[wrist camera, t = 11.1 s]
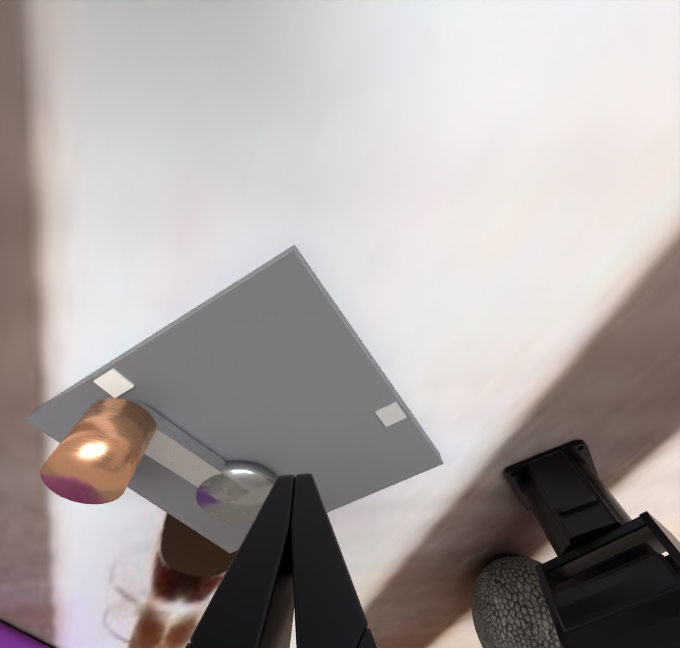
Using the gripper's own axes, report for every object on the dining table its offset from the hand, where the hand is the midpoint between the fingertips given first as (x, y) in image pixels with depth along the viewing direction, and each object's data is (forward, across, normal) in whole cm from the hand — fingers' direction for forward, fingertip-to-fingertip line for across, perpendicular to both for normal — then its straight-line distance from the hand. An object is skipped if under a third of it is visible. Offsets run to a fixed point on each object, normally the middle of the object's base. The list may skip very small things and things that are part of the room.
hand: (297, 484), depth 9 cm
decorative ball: (+13, -18, +33) cm, 40 cm away
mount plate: (+13, +5, +12) cm, 18 cm away
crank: (+12, +9, +12) cm, 19 cm away
